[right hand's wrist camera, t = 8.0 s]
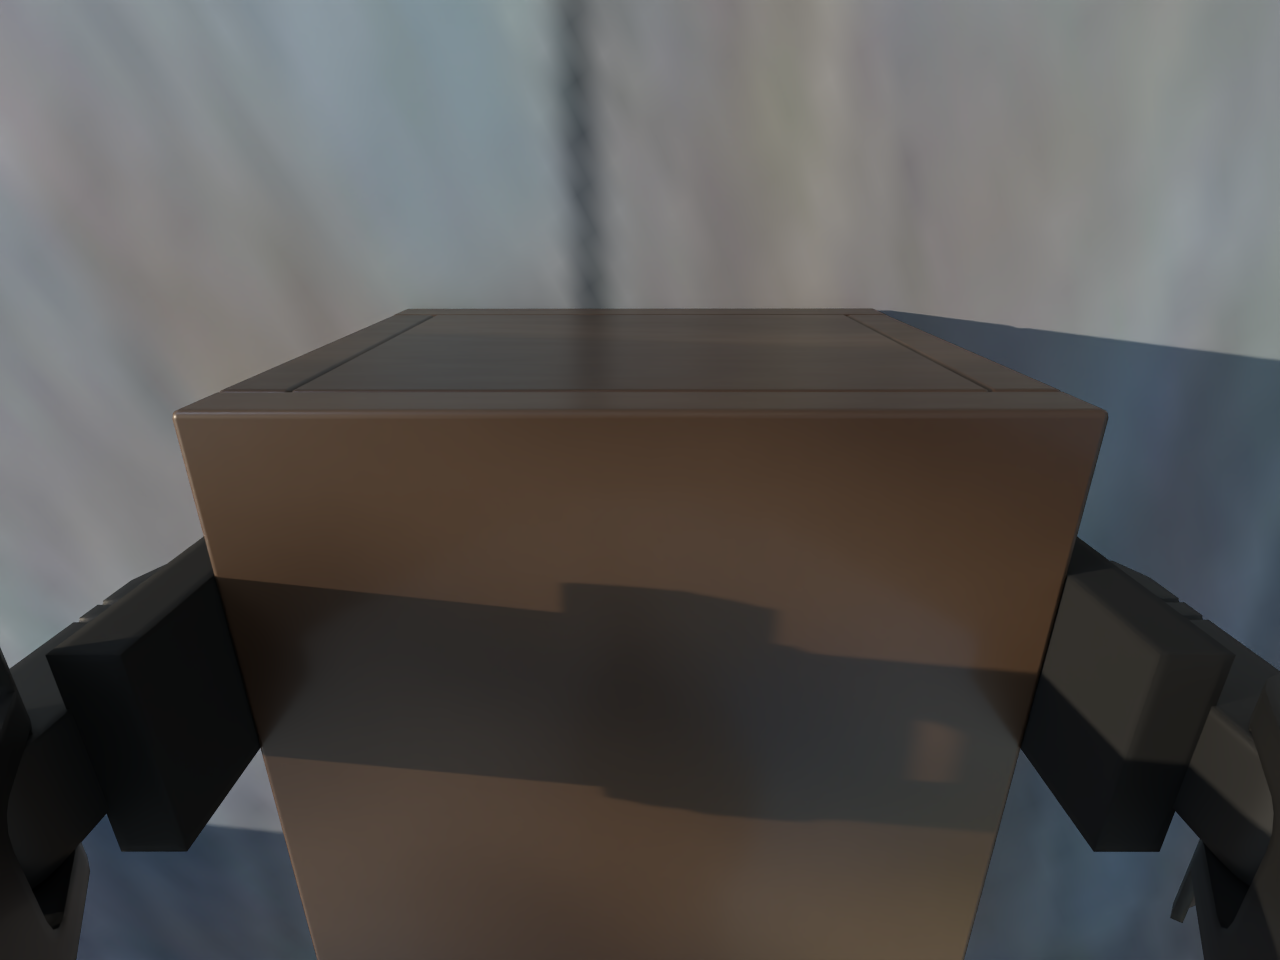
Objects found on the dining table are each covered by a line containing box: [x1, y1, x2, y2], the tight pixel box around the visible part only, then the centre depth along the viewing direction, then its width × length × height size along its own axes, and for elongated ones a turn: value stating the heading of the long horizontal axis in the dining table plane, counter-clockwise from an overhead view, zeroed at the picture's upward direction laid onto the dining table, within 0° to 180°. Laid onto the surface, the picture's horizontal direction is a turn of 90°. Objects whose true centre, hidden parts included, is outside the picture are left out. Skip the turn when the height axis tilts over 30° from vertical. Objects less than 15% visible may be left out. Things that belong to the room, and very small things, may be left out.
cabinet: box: [173, 309, 1108, 960], centre depth 15 cm, size 21×10×8 cm, turn 0°
